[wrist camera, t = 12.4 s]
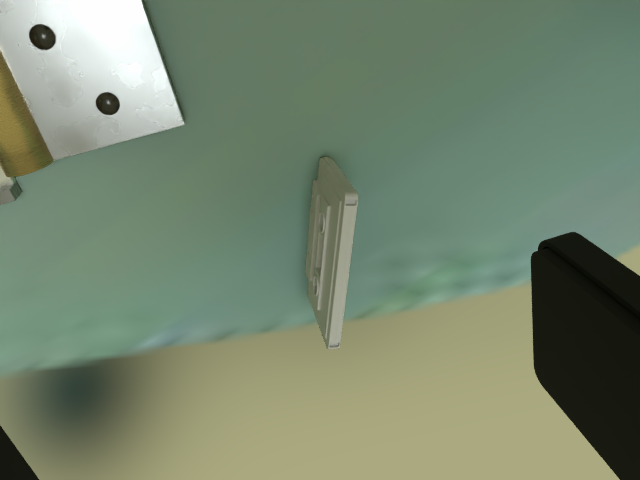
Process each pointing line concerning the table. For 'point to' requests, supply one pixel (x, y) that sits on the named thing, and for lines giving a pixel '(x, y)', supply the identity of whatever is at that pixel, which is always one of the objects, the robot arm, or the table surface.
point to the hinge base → (77, 82)
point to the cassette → (330, 248)
